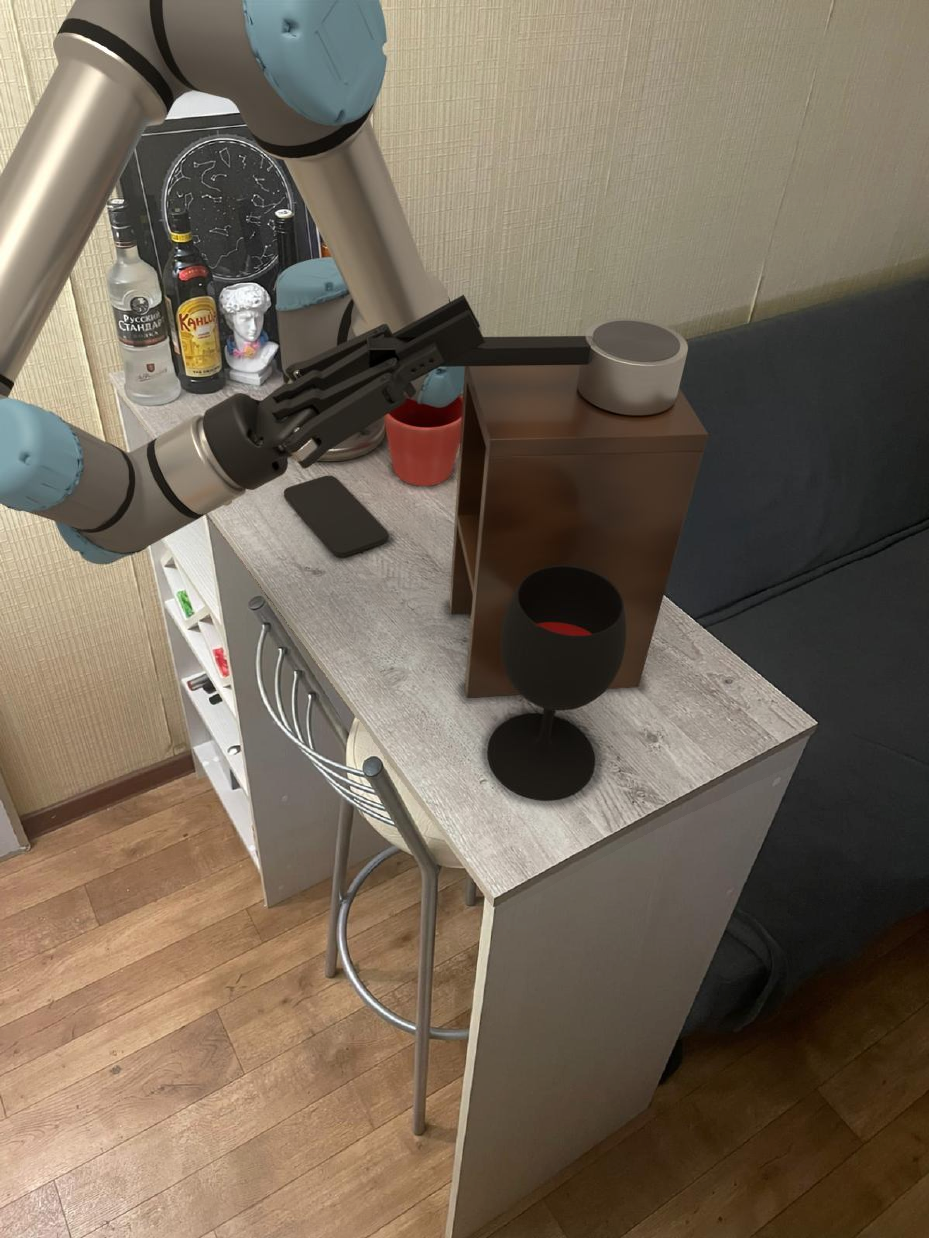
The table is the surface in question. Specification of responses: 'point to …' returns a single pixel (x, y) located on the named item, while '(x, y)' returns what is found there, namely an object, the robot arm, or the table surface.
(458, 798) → the table surface
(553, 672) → the wine glass
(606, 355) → the pan
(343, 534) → the phone
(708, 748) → the table surface
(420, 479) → the flower pot
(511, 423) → the shelf
